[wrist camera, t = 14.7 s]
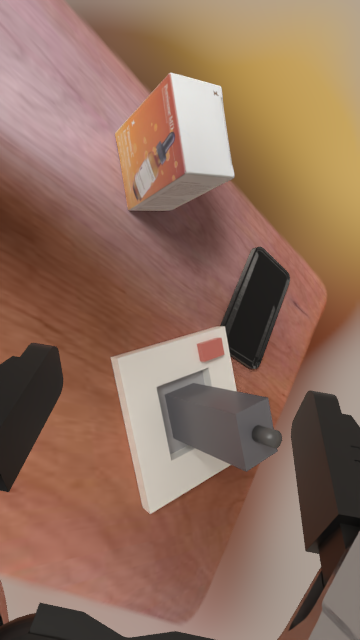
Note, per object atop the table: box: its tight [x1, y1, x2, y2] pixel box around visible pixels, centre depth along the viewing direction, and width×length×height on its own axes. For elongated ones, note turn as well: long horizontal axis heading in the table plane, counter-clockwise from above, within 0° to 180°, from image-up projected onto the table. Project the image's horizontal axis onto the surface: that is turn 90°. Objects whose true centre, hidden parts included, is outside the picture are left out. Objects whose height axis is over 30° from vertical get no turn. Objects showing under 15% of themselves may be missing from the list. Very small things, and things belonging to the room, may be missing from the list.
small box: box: [115, 73, 234, 211], centre depth 33 cm, size 8×6×10 cm
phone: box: [221, 247, 290, 369], centre depth 46 cm, size 8×1×15 cm
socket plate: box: [111, 326, 237, 514], centre depth 38 cm, size 16×14×2 cm
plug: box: [165, 383, 282, 472], centre depth 33 cm, size 5×4×13 cm
